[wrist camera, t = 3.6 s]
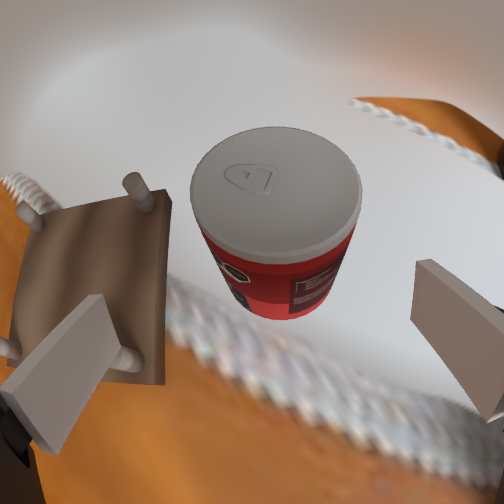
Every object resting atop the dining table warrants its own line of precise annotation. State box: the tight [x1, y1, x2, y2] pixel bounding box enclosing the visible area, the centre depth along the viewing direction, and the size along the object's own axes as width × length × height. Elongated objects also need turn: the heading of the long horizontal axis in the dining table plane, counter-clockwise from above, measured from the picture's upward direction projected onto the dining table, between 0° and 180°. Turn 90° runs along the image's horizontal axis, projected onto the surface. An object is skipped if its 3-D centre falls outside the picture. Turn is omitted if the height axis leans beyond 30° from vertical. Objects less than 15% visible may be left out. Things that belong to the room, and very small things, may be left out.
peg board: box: [0, 172, 172, 385], centre depth 22 cm, size 16×16×6 cm
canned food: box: [190, 127, 362, 320], centre depth 18 cm, size 8×8×11 cm
